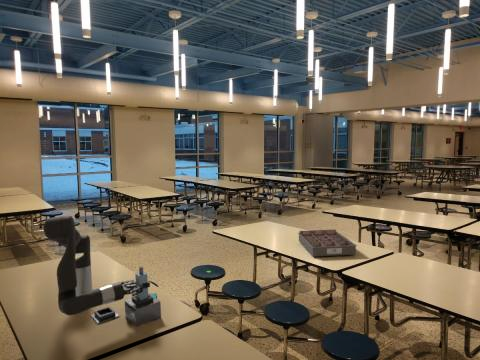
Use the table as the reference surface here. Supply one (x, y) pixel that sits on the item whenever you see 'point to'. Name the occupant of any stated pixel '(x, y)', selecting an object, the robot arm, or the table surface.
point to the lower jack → (104, 315)
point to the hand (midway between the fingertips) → (147, 282)
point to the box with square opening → (142, 310)
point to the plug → (141, 279)
